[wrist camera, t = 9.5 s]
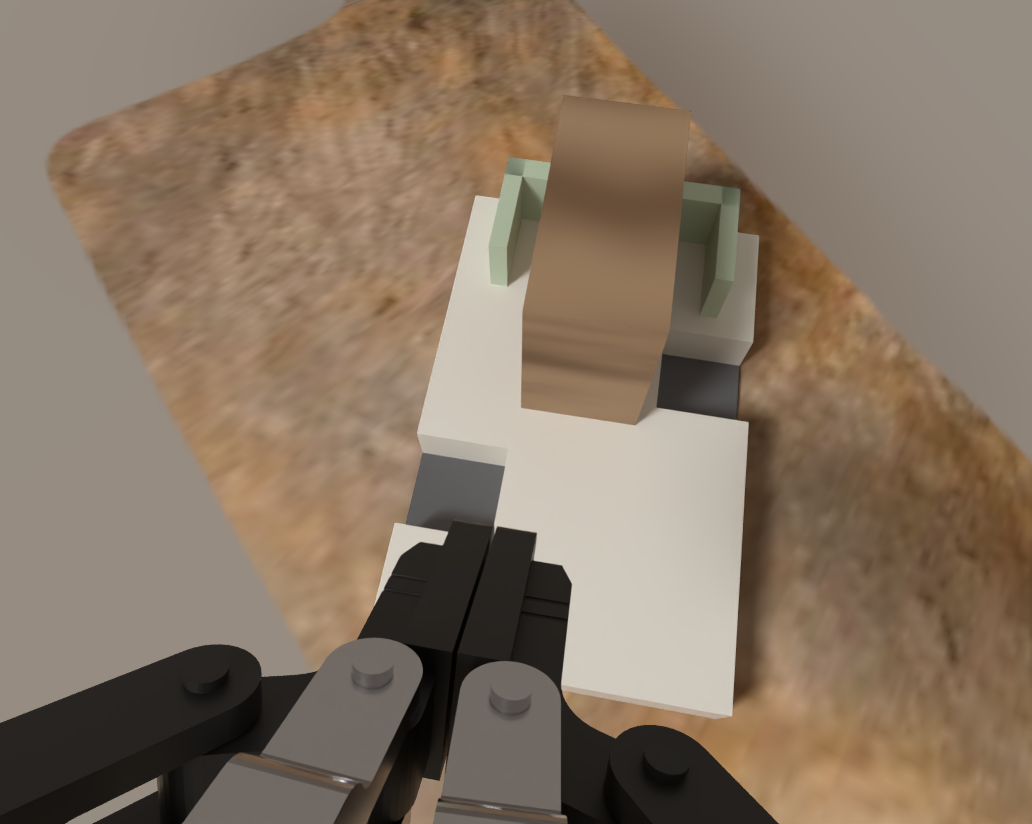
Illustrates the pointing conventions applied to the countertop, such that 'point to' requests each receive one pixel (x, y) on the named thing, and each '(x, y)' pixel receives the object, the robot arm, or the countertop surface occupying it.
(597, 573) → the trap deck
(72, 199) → the countertop surface
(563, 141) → the walnut block
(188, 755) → the robot arm
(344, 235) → the countertop surface
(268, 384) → the countertop surface
